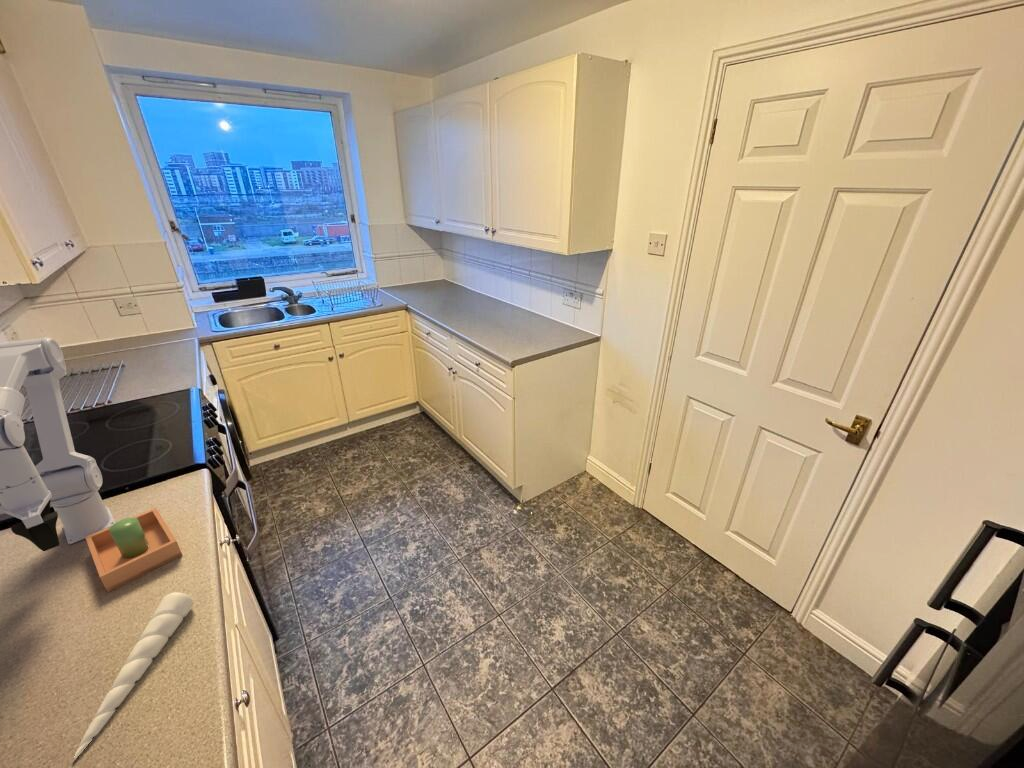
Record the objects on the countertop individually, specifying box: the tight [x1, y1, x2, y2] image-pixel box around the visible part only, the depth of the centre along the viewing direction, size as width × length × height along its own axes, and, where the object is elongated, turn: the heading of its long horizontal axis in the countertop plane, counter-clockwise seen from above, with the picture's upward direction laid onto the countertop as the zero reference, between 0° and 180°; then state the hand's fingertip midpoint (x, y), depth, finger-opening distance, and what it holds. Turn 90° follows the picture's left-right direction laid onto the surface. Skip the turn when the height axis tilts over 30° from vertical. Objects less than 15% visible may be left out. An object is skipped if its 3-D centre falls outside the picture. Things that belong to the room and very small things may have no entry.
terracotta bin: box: [85, 507, 183, 593], centre depth 88 cm, size 16×12×4 cm
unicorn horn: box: [73, 591, 194, 758], centre depth 66 cm, size 5×24×5 cm, turn 2°
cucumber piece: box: [109, 516, 149, 559], centre depth 87 cm, size 4×4×7 cm
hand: (48, 537), depth 80 cm, fingers open, 7 cm apart
